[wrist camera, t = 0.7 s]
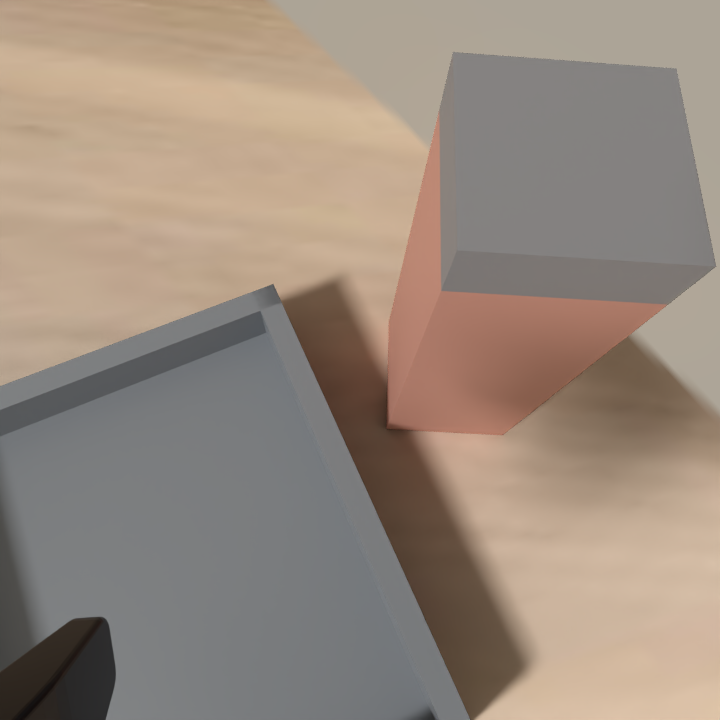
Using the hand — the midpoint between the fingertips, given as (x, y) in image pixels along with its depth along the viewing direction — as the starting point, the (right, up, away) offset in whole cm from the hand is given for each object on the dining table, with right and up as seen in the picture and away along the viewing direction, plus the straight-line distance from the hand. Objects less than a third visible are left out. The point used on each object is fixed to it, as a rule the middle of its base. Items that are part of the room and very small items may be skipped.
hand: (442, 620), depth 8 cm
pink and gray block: (+2, +3, +15) cm, 15 cm away
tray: (-7, -4, +12) cm, 15 cm away
